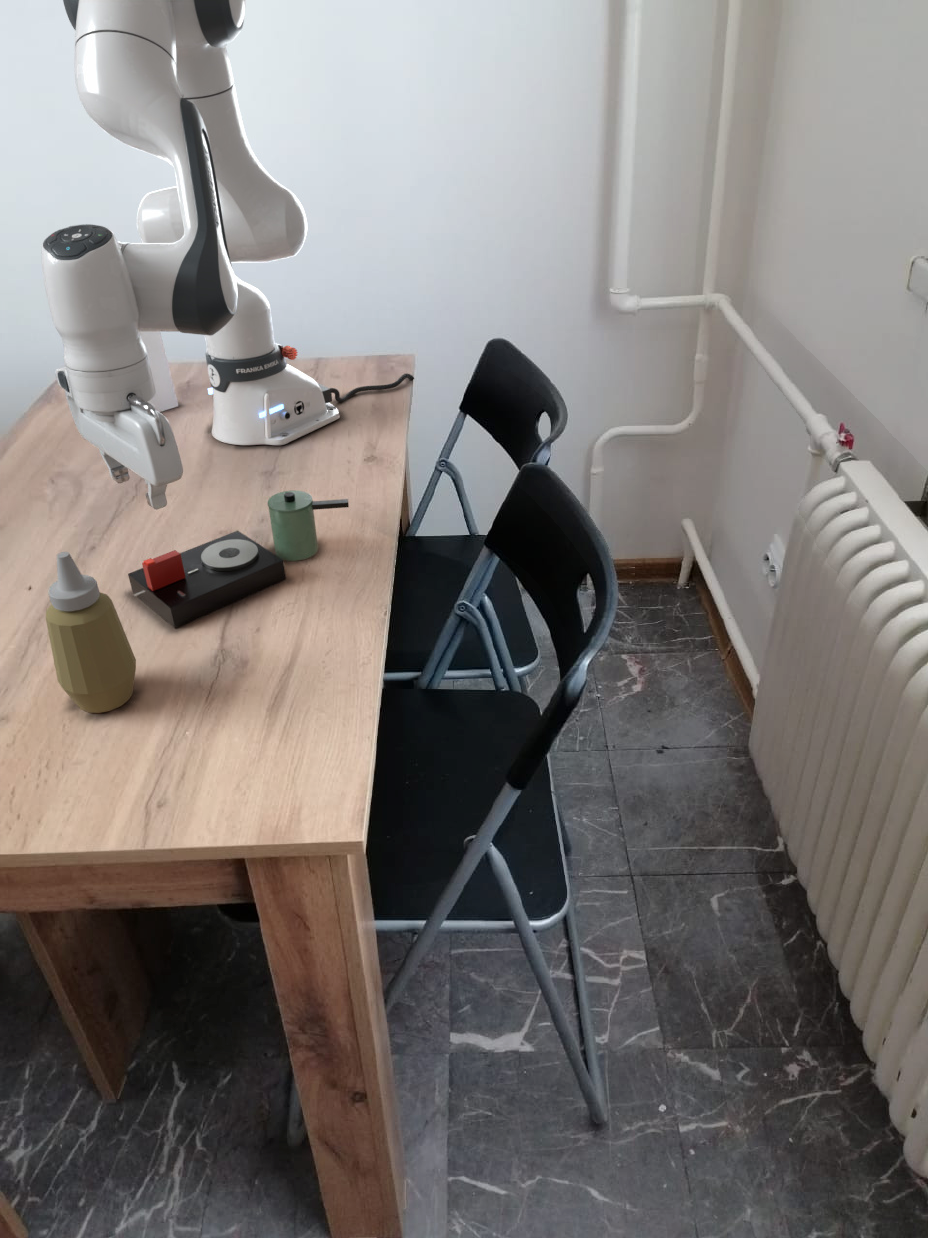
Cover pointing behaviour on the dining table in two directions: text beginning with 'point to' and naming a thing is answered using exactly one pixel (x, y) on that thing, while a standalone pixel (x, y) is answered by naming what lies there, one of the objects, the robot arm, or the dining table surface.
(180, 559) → the knob
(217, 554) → the burner
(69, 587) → the squeeze bottle
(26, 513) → the dining table surface
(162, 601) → the hob
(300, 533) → the saucepan
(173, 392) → the milk
